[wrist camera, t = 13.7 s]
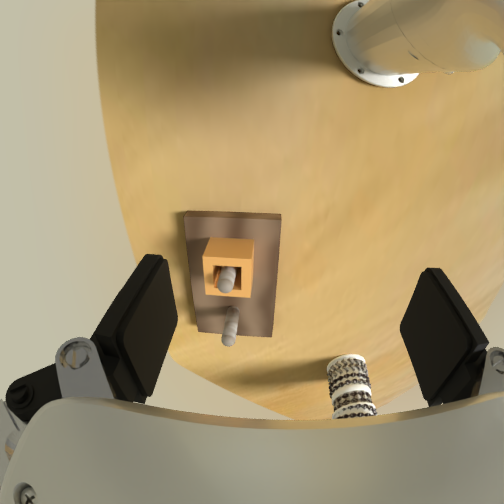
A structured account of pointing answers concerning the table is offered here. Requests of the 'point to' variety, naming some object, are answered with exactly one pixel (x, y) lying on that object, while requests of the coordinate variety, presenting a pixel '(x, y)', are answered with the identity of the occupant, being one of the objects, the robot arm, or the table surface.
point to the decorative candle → (350, 387)
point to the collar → (229, 255)
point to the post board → (234, 273)
